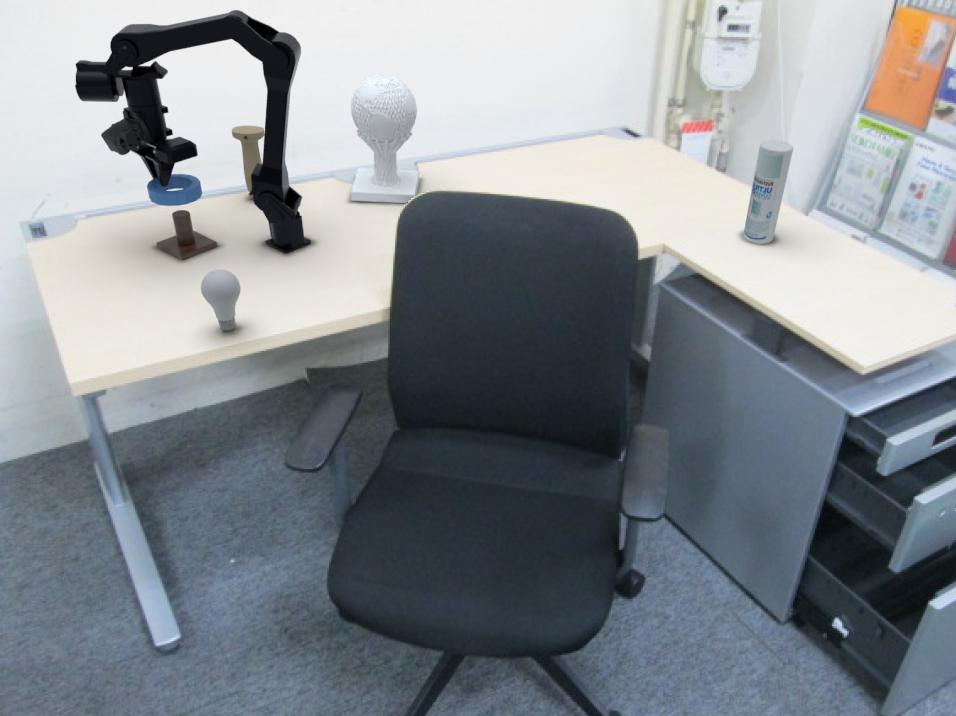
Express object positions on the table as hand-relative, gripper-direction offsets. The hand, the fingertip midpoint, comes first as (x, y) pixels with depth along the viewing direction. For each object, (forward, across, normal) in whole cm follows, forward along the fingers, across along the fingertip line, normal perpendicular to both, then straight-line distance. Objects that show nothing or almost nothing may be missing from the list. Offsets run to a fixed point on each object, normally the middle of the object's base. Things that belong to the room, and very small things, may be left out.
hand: (162, 185), depth 172 cm
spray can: (+13, +86, +82) cm, 120 cm away
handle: (+12, -5, +24) cm, 28 cm away
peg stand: (+12, +4, 0) cm, 12 cm away
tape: (+1, +4, 0) cm, 4 cm away
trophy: (+12, +12, +46) cm, 49 cm away
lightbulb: (+12, +34, -14) cm, 39 cm away
